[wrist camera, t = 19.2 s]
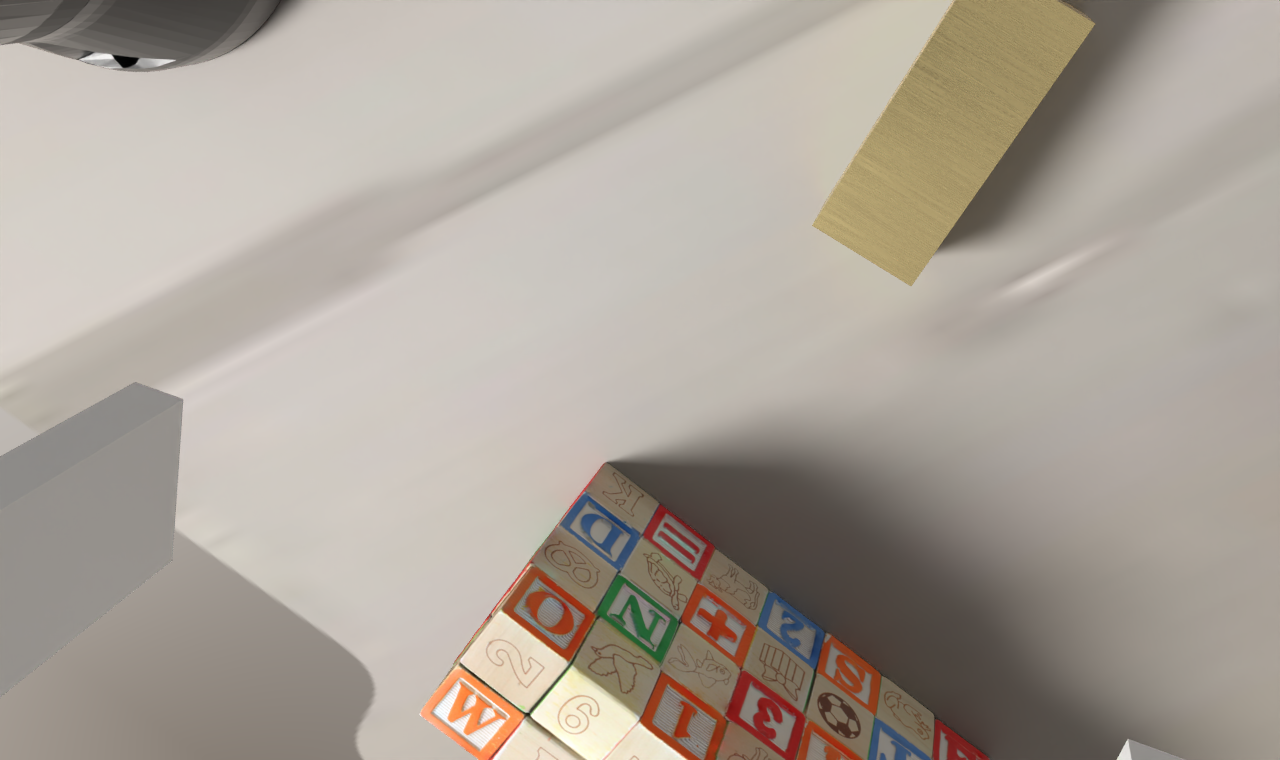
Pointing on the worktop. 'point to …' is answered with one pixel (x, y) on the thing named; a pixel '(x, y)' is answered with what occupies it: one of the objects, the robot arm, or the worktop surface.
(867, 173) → the square bit
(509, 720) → the stack of blocks
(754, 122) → the worktop surface
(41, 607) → the robot arm
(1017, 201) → the worktop surface
